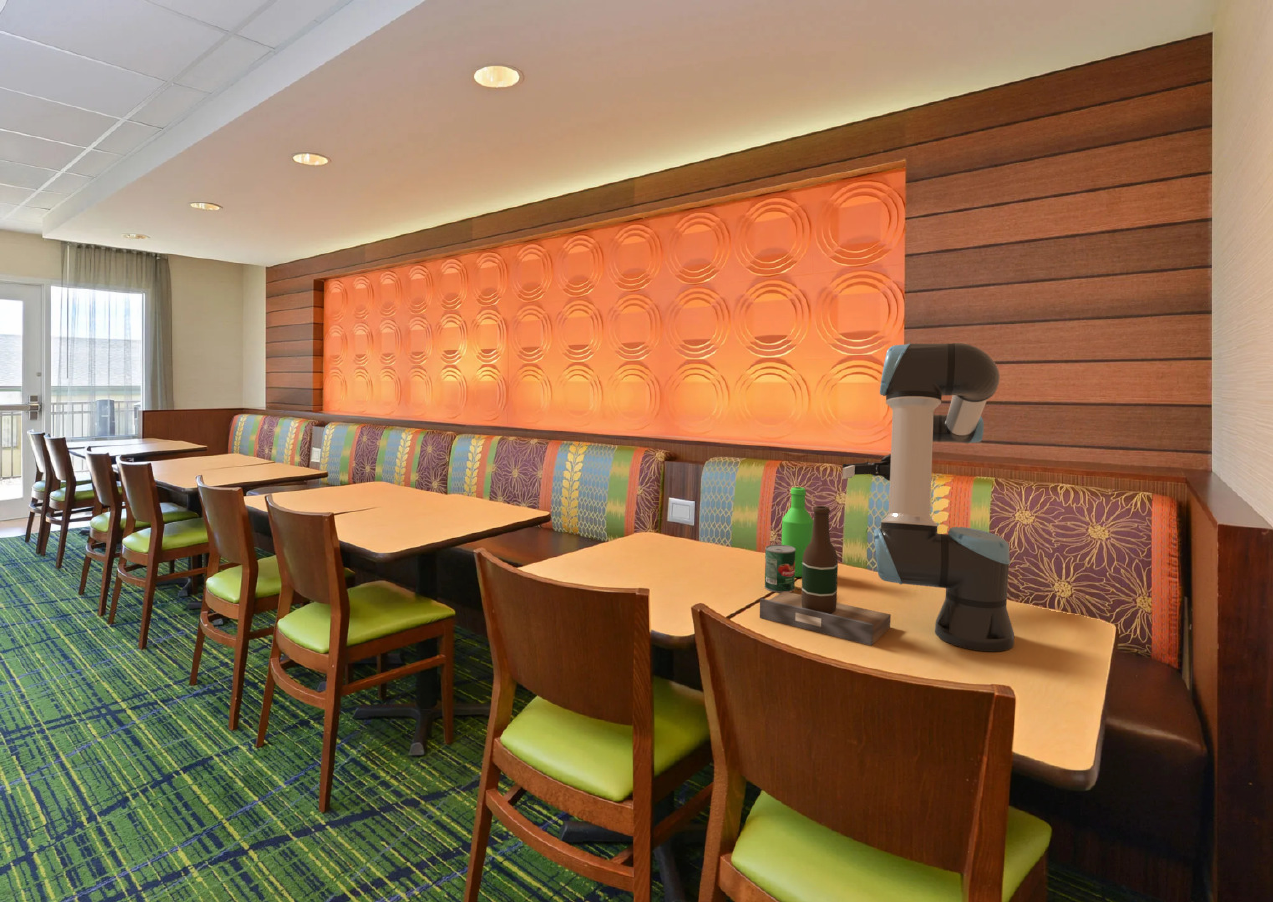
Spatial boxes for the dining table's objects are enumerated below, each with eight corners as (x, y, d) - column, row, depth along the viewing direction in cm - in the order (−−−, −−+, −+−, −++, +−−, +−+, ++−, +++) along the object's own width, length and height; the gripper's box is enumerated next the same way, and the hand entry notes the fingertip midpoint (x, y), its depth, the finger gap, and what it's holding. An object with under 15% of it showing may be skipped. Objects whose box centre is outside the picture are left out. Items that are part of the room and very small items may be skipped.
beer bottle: (837, 616, 143) (841, 511, 141) (801, 614, 145) (804, 509, 142) (834, 604, 151) (838, 504, 148) (800, 602, 153) (803, 503, 150)
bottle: (776, 569, 190) (778, 485, 187) (805, 568, 190) (807, 485, 188) (786, 578, 181) (788, 490, 178) (816, 577, 182) (819, 490, 179)
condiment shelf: (890, 627, 145) (890, 607, 145) (870, 645, 135) (871, 625, 135) (783, 602, 161) (784, 585, 161) (759, 617, 151) (759, 599, 151)
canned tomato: (768, 581, 178) (769, 543, 177) (797, 585, 175) (798, 546, 173) (761, 590, 171) (761, 550, 170) (791, 594, 167) (791, 553, 166)
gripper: (946, 484, 168) (924, 496, 151) (851, 476, 183) (822, 485, 167) (947, 456, 167) (925, 464, 150) (852, 449, 182) (822, 457, 166)
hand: (871, 475), depth 158 cm, fingers open, 13 cm apart
